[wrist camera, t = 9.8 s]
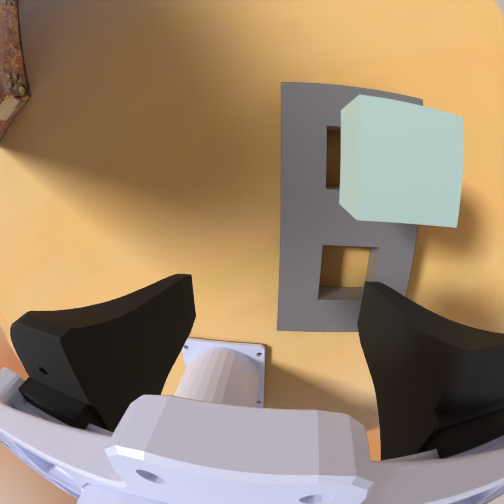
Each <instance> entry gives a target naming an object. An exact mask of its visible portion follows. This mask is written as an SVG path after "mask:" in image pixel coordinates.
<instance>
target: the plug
mask: <svg viewBox="0 0 504 504" xmlns="http://www.w3.org/2000/svg"><path fill="white" fill-rule="evenodd" d="M462 171H463V117H461V116H458V115H455V114H451V113H448V112H444V111H441V110H437V109H433V108H429V107H425V106H421V105H416V104H412V103H407V102H402V101H397V100H392V99H386V98H380V97H374V96H367V95H360V94H359V95H358V96H357V97H356V98H355V99H353V100H352V101H351V102H350V103H349V104H348V105H346V106H345V107H344V108H343V109H342V110H341V165H340V193H339V204H340V205H341V206H342V207H343V208H344V209H345V210H346V211H347V212H349V213H350V214H351V215H352V216H353V217H354V218H355V219H356V220H362V221H378V222H393V223H407V224H420V225H432V226H443V227H454V228H457V222H458V215H459V207H460V198H461V187H462Z"/></svg>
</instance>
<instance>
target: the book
mask: <svg viewBox="0 0 504 504" xmlns="http://www.w3.org/2000/svg"><path fill="white" fill-rule="evenodd" d="M30 96H31V94H30V90H29V85H28V81H27V76H26V71H25V65H24V59H23V52H22V45H21V37H20V27H19V12H18V0H0V139H1V138H2V136H3V134H4V133H5V131H6V130H7V128H8V127H9V125H10V124H11V122H12V121H13V119H14V118H15V116H16V115H17V114H18V112H19V111H20V109H21V108H22V107H23V105H24V104H25V103H26V101H27V100H28V99H29V97H30Z"/></svg>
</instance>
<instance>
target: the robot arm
mask: <svg viewBox="0 0 504 504" xmlns="http://www.w3.org/2000/svg"><path fill="white" fill-rule="evenodd" d="M195 317H196V312H195V304H194V295H193V286H192V276H191V275H190V274H175V275H172V276H169V277H167V278H165V279H162V280H160V281H158V282H156V283H153V284H151V285H149V286H147V287H145V288H142V289H140V290H137V291H135V292H133V293H130V294H128V295H125V296H123V297H120V298H117V299H114V300H111V301H107V302H104V303H100V304H96V305H91V306H86V307H82V308H75V309H68V310H57V311H29V312H27V313H25V314H24V315H23V316H22V317H20V318H19V319H18V320H16V321H15V322H14V323H13V324H12V325H11V328H10V336H11V340H12V343H13V346H14V348H15V351H16V353H17V355H18V357H19V359H20V360H21V362H22V364H23V366H24V368H25V370H26V372H27V373H28V375H29V376H30V377H29V378H28V379H27V380H26V381H24V380H23V379H22V378H21V377H20V376H19V375H17V374H16V373H14V372H13V371H11V370H9V369H8V368H6V367H4V368H2V369H1V370H0V441H1V442H2V443H3V444H4V445H5V446H6V447H7V448H8V449H9V450H10V451H12V452H13V453H14V454H15V455H16V456H17V457H19V458H20V459H21V460H23V461H24V462H25V463H26V464H27V465H29V466H30V467H31V468H32V469H34V470H35V471H37V472H38V473H39V474H41V475H42V476H43V477H45V478H46V479H47V480H49V481H50V482H52V483H53V484H55V485H56V486H58V487H59V488H61V489H62V490H64V491H65V492H67V493H68V494H70V495H71V496H73V497H75V498H76V499H78V501H77V503H76V504H487V503H489V502H491V501H493V500H494V499H496V498H498V497H499V496H501V495H503V494H504V334H502V333H494V332H489V331H484V330H480V329H476V328H472V327H469V326H466V325H463V324H460V323H457V322H454V321H451V320H449V319H446V318H444V317H442V316H440V315H437V314H435V313H433V312H431V311H429V310H427V309H425V308H424V307H422V306H420V305H418V304H416V303H415V302H413V301H411V300H410V299H408V298H407V297H405V296H403V295H402V294H400V293H398V292H397V291H395V290H394V289H392V288H390V287H389V286H387V285H385V284H383V283H381V282H368V281H365V285H364V291H363V296H362V302H361V307H360V312H359V317H358V322H357V326H358V332H359V337H360V343H361V346H362V349H363V352H364V355H365V358H366V361H367V364H368V367H369V371H370V374H371V377H372V380H373V384H374V388H375V392H376V399H377V406H378V414H379V424H380V439H381V461H371V458H370V452H369V446H368V440H367V434H366V428H365V426H364V425H363V424H361V423H360V422H358V421H357V420H356V419H354V418H353V417H351V416H350V415H348V414H344V413H338V412H330V411H323V410H317V409H277V408H263V405H264V376H265V347H264V345H262V344H250V343H237V342H225V341H215V340H205V339H196V338H188V336H189V334H190V332H191V329H192V326H193V323H194V320H195ZM185 345H186V346H188V347H186V346H185ZM181 350H182V352H183V358H184V363H185V368H186V370H185V372H184V374H183V376H182V378H181V381H180V383H179V385H178V387H177V389H176V392H175V394H174V396H173V395H161V392H162V389H163V387H164V384H165V381H166V379H167V377H168V374H169V372H170V370H171V368H172V366H173V365H174V363H175V361H176V359H177V357H178V355H179V353H180V352H181ZM258 353H262V354H258Z"/></svg>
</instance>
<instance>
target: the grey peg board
mask: <svg viewBox="0 0 504 504" xmlns="http://www.w3.org/2000/svg"><path fill="white" fill-rule="evenodd" d="M359 94H360V95H367V96H374V97H380V98H386V99H392V100H397V101H402V102H407V103H412V104H416V105H421V106H423V99H419V98H415V97H410V96H406V95H401V94H396V93H391V92H385V91H379V90H373V89H366V88H359V87H351V86H342V85H332V84H319V83H299V82H281V230H280V267H279V294H278V318H277V331H304V332H358V326H357V322H358V317H359V312H360V307H361V302H362V296H363V291H364V288H361V287H319V281H320V271H321V259H322V247H323V245H335V246H361V247H370V254H369V262H368V269H367V275H366V281H368V282H381V283H383V284H385V285H387V286H389V287H390V288H392V289H394V290H395V291H397V292H398V293H400V294H402V295H403V296H405V295H406V291H407V286H408V282H409V277H410V272H411V267H412V262H413V256H414V251H415V244H416V238H417V231H418V224H407V223H393V222H378V221H362V220H356V219H355V218H354V217H353V216H352V215H351V214H350V213H349V212H347V211H346V210H345V209H344V208H343V207H342V206H341V205H340V204H339V193H340V187H334V186H326V161H327V129H331V130H341V110H342V109H343V108H344V107H345V106H346V105H348V104H349V103H350V102H351V101H352V100H353V99H355V98H356V97H357V96H358V95H359Z"/></svg>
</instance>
